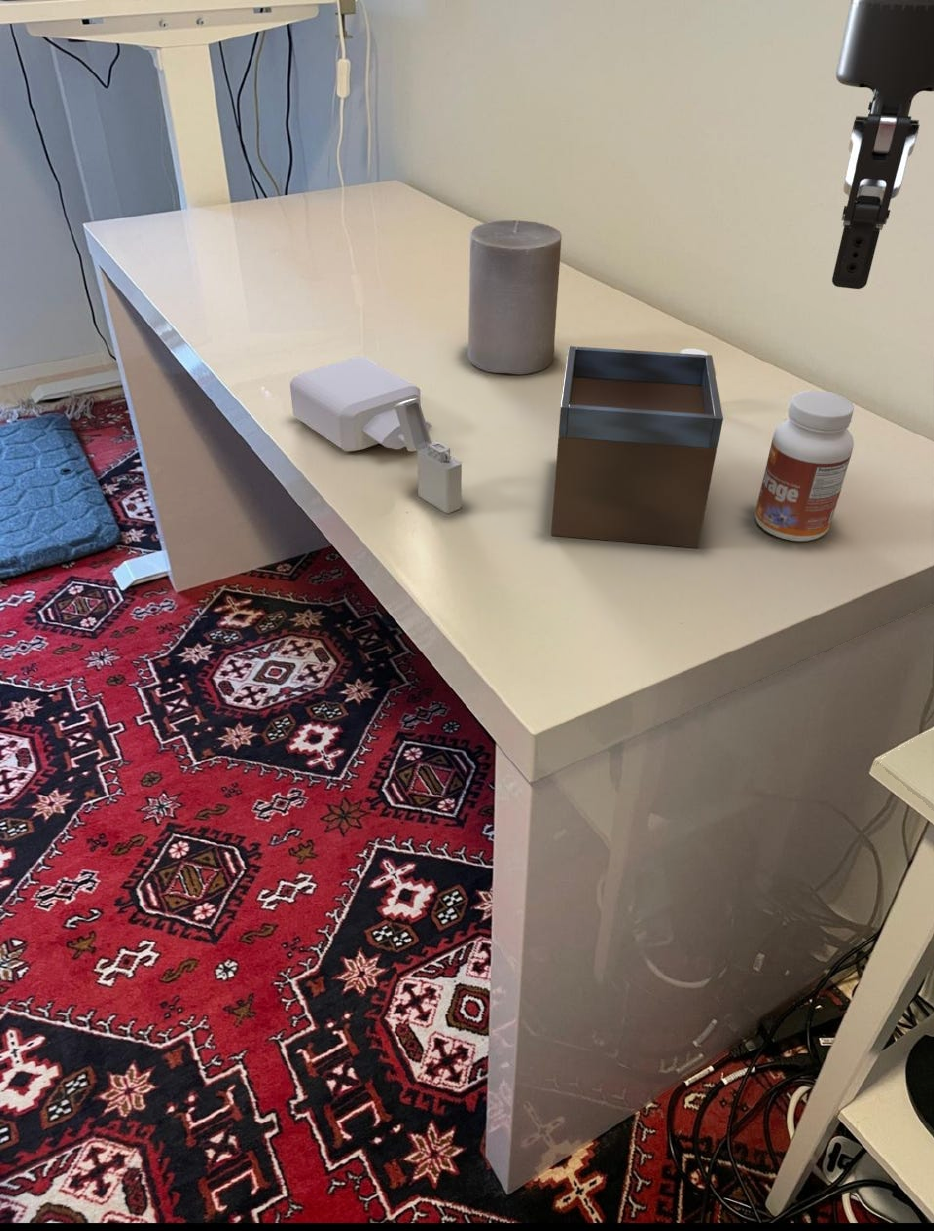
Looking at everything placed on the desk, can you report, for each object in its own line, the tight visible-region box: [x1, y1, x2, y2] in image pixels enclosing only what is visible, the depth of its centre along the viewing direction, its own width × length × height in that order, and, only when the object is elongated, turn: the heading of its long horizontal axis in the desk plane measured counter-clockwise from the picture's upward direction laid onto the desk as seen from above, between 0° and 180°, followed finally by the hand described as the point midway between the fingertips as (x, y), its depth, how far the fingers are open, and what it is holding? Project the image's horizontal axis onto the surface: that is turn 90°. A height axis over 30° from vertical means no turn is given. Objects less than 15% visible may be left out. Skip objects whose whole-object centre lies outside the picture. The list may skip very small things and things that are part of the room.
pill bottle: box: [754, 389, 855, 542], centre depth 77 cm, size 6×6×11 cm
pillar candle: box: [467, 219, 563, 375], centre depth 103 cm, size 10×10×15 cm
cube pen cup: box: [550, 345, 724, 549], centre depth 79 cm, size 12×12×12 cm
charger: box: [289, 356, 433, 452], centre depth 91 cm, size 5×9×15 cm
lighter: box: [395, 398, 463, 515], centre depth 81 cm, size 7×2×8 cm, turn 40°
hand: (850, 272), depth 67 cm, fingers open, 8 cm apart
